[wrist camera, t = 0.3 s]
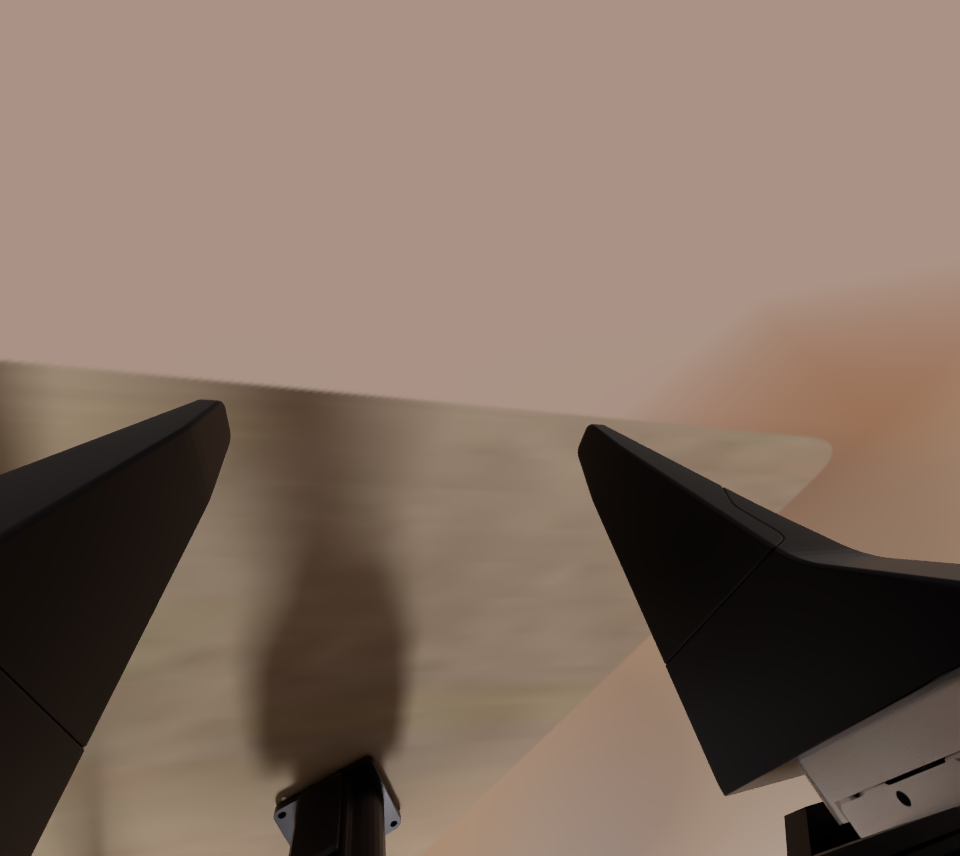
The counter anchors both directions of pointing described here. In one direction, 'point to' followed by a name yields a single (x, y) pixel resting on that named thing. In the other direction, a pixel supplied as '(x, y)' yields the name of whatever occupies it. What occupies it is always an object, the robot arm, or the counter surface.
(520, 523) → the counter surface
